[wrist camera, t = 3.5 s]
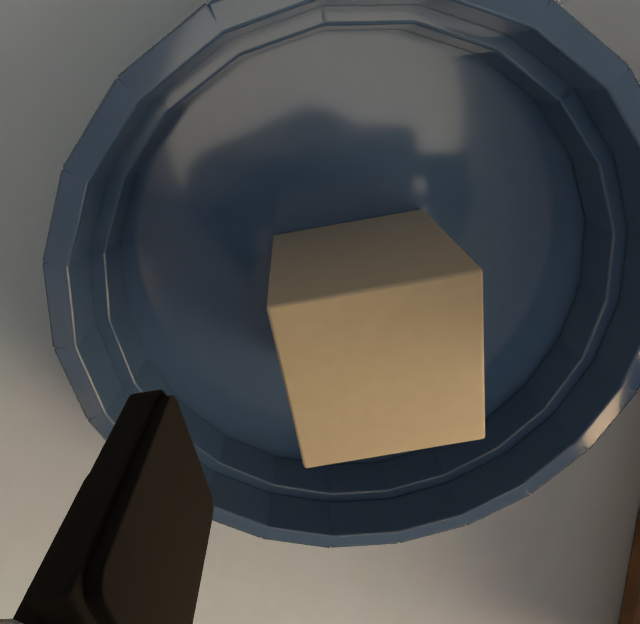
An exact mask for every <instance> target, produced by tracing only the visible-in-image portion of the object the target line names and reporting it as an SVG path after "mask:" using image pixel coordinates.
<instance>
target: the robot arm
mask: <svg viewBox="0 0 640 624" xmlns="http://www.w3.org/2000/svg"><path fill="white" fill-rule="evenodd" d="M213 507H214V506H213V498H212V494H211V491H210V488H209V485H208V483H207V480H206V477H205V475H204V472H203V469H202V466H201V464H200V461H199V458H198V455H197V453H196V450H195V447H194V445H193V442H192V439H191V436H190V434H189V431H188V428H187V425H186V423H185V420H184V417H183V414H182V412H181V409H180V406H179V404H178V401H177V399H176V397H175V396H173V395H170V396H167V394H166V393H165V392H164V390H161V389H159V390H153V391H147V392H140V393H134V394H131V395H130V396H129V398H128V399H127V401H126V403H125V405H124V407H123V409H122V411H121V413H120V415H119V417H118V419H117V421H116V423H115V425H114V427H113V428H112V430H111V432H110V434H109V436H108V438H107V440H106V442H105V444H104V446H103V448H102V450H101V452H100V454H99V456H98V458H97V460H96V462H95V464H94V466H93V468H92V470H91V471H90V473H89V474H88V476H87V477H86V479H85V480H84V482H83V484H82V486H81V488H80V490H79V492H78V493H77V495H76V497H75V499H74V501H73V503H72V505H71V507H70V509H69V511H68V513H67V515H66V517H65V519H64V521H63V523H62V524H61V526H60V528H59V530H58V532H57V534H56V536H55V538H54V540H53V542H52V544H51V546H50V548H49V550H48V552H47V554H46V556H45V557H44V559H43V561H42V563H41V565H40V567H39V569H38V571H37V573H36V575H35V577H34V579H33V581H32V583H31V585H30V587H29V588H28V590H27V592H26V594H25V596H24V598H23V600H22V602H21V604H20V606H19V608H18V610H17V612H16V614H15V616H14V618H13V619H0V624H193V618H194V613H195V608H196V602H197V597H198V592H199V587H200V581H201V576H202V571H203V565H204V560H205V555H206V549H207V544H208V539H209V534H210V528H211V523H212V518H213Z"/></svg>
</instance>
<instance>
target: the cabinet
mask: <svg viewBox="0 0 640 624" xmlns="http://www.w3.org/2000/svg"><path fill="white" fill-rule="evenodd" d="M619 624H640V510H639V516H638V521H637V527H636V532H635V538H634V543H633V549H632V555H631V560H630V566H629V571H628V577H627V582H626V588H625V593H624V599H623V604H622V610H621V615H620V621H619Z"/></svg>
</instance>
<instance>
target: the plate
mask: <svg viewBox="0 0 640 624" xmlns="http://www.w3.org/2000/svg"><path fill="white" fill-rule="evenodd" d="M420 209H421V210H424V211H425V212H426V213H427V214H428V215H429V216H430V217H431V218H432V219H433V220H434V222H435V223H436V224H437V225H438V226H439V227H440V228H441V229H442V230H443V231H444V232H445V233H446V234H447V235H448V236H449V237H450V238H451V239H452V240H453V241H454V242H455V243H456V244H457V245H458V246H459V247H460V248H461V249H462V250H463V251H464V252H465V253H466V254H467V255H468V256H469V257H470V258H471V259H472V260H473V261H474V262H475V263H476V264H477V265H478V266H479V267H480V268H481V269H482V271H483V324H484V390H485V438H483V439H479V440H473V441H467V442H461V443H455V444H449V445H443V446H437V447H431V448H425V449H419V450H413V451H407V452H401V453H395V454H389V455H383V456H377V457H371V458H365V459H359V460H353V461H347V462H341V463H335V464H329V465H323V466H317V467H311V468H305V467H304V465H303V461H302V457H301V453H300V448H299V444H298V440H297V436H296V432H295V427H294V423H293V419H292V415H291V410H290V406H289V402H288V398H287V393H286V389H285V385H284V381H283V377H282V372H281V368H280V364H279V360H278V355H277V351H276V347H275V343H274V338H273V334H272V330H271V326H270V321H269V317H268V313H267V298H268V287H269V277H270V266H271V255H272V245H273V236H275V235H278V234H284V233H289V232H295V231H301V230H306V229H312V228H318V227H323V226H329V225H335V224H340V223H346V222H352V221H358V220H363V219H369V218H375V217H380V216H386V215H392V214H397V213H403V212H409V211H414V210H420ZM43 272H44V280H45V287H46V295H47V303H48V311H49V318H50V326H51V334H52V342H53V347H55V348H54V350H55V352H56V355H57V357H58V359H59V361H60V363H61V365H62V367H63V369H64V371H65V374H66V376H67V378H68V380H69V382H70V384H71V386H72V388H73V391H74V393H75V395H76V397H77V399H78V401H79V403H80V405H81V407H82V410H83V412H84V414H85V416H86V418H87V419H88V420H89V422H90V423H91V424H92V425H93V427H94V428H95V429H96V430H97V431H98V432H99V433H100V434H101V436H102V437H103V438H104V439H105V440H107V438H108V436H109V434H110V432H111V430H112V428H113V427H114V425H115V423H116V421H117V419H118V417H119V415H120V413H121V411H122V409H123V407H124V405H125V403H126V401H127V399H128V398H129V396H130V395H131V394H134V393H140V392H147V391H153V390H159V389H161V390H164V392H165V393H166V394H167V396H170V395H173V396H175V397H176V399H177V401H178V404H179V406H180V409H181V412H182V414H183V417H184V420H185V423H186V425H187V428H188V431H189V434H190V436H191V439H192V442H193V445H194V447H195V450H196V453H197V455H198V458H199V461H200V464H201V466H202V469H203V472H204V475H205V477H206V480H207V483H208V485H209V488H210V491H211V494H212V498H213V506H214V507H213V518H212V520H213V521H216V522H218V523H221V524H224V525H227V526H229V527H232V528H235V529H238V530H240V531H243V532H246V533H248V534H251V535H254V536H257V537H259V538H261V537H262V538H263V539H268V540H275V541H282V542H290V543H297V544H304V545H312V546H319V547H326V548H330V546H331V547H332V548H335V547H350V546H366V545H382V544H397V543H398V542H399V543H402V542H406V541H410V540H414V539H417V538H421V537H425V536H429V535H433V534H436V533H440V532H444V531H448V530H452V529H455V528H459V527H463V526H465V525H469V524H471V523H473V522H475V521H478V520H480V519H482V518H484V517H486V516H488V515H490V514H492V513H494V512H496V511H498V510H500V509H502V508H504V507H506V506H508V505H510V504H512V503H514V502H516V501H519V500H521V499H523V498H525V497H527V496H529V495H530V493H533V492H534V491H535V490H537V489H538V488H539V487H541V486H542V485H543V484H545V483H546V482H547V481H548V480H550V479H551V478H552V477H554V476H555V475H556V474H558V473H559V472H560V471H561V470H563V469H564V468H565V467H567V466H568V465H569V464H571V463H572V462H573V461H574V460H576V459H577V458H578V457H580V456H581V455H582V454H583V453H585V452H586V451H587V449H590V448H591V446H592V445H593V444H594V443H595V442H596V440H597V439H598V438H599V437H600V436H601V434H602V433H603V432H604V431H605V430H606V428H607V427H608V426H609V425H610V424H611V423H612V421H613V420H614V419H615V418H616V417H617V415H618V414H619V413H620V412H621V411H622V409H623V408H624V407H625V406H626V405H627V403H628V402H629V401H630V400H631V399H632V397H633V396H634V395H635V394H636V391H637V390H638V389H639V387H640V85H639V83H638V81H637V80H636V78H635V76H634V74H633V72H632V70H631V69H630V68H629V66H628V64H627V63H626V62H624V61H623V60H622V59H621V58H620V57H619V56H618V55H616V54H615V53H614V52H613V51H612V50H611V49H610V48H608V47H607V46H606V45H605V44H604V43H603V42H601V41H600V40H599V39H598V38H597V37H596V36H595V35H593V34H592V33H591V32H590V31H589V30H588V29H587V28H585V27H584V26H583V25H582V24H581V23H580V22H578V21H577V20H576V19H575V18H574V17H573V16H572V15H570V14H569V13H568V12H567V11H566V10H565V9H564V8H562V7H561V6H560V5H559V4H558V3H557V2H555V1H554V0H211V1H210V2H209V3H208V4H203V5H202V6H201V7H200V8H199V9H197V10H196V11H195V12H194V13H193V14H191V15H190V16H189V17H188V18H187V19H185V20H184V21H183V22H182V23H181V24H179V25H178V26H177V27H176V28H175V29H173V30H172V31H171V32H170V33H168V34H167V35H166V36H165V37H164V38H162V39H161V40H160V41H159V42H158V43H156V44H155V45H154V46H153V47H152V48H150V49H149V50H148V51H147V52H146V53H144V54H143V55H142V56H141V57H140V58H138V59H137V60H136V61H135V62H134V63H132V64H131V65H130V66H129V67H127V68H126V69H125V70H124V71H123V72H121V73H120V74H119V75H118V78H117V79H115V80H114V82H113V84H112V85H111V87H110V89H109V90H108V92H107V94H106V95H105V97H104V99H103V100H102V102H101V104H100V105H99V107H98V109H97V110H96V112H95V114H94V115H93V117H92V119H91V120H90V122H89V124H88V125H87V127H86V129H85V130H84V132H83V134H82V135H81V137H80V139H79V140H78V142H77V144H76V145H75V147H74V149H73V150H72V152H71V154H70V155H69V157H68V159H67V160H66V162H65V164H64V165H63V169H62V171H61V174H60V179H59V184H58V189H57V194H56V198H55V203H54V208H53V213H52V218H51V223H50V228H49V232H48V237H47V242H46V247H45V252H44V257H43Z"/></svg>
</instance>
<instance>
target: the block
mask: <svg viewBox="0 0 640 624" xmlns="http://www.w3.org/2000/svg"><path fill="white" fill-rule="evenodd" d="M267 313H268V317H269V321H270V326H271V330H272V334H273V338H274V343H275V347H276V351H277V355H278V360H279V364H280V368H281V372H282V377H283V381H284V385H285V389H286V393H287V398H288V402H289V406H290V410H291V415H292V419H293V423H294V427H295V432H296V436H297V440H298V444H299V448H300V453H301V457H302V461H303V465H304V467H305V468H311V467H317V466H323V465H329V464H335V463H341V462H347V461H353V460H359V459H365V458H371V457H377V456H383V455H389V454H395V453H401V452H407V451H413V450H419V449H425V448H431V447H437V446H443V445H449V444H455V443H461V442H467V441H473V440H479V439H483V438H485V390H484V324H483V271H482V269H481V268H480V267H479V266H478V265H477V264H476V263H475V262H474V261H473V260H472V259H471V258H470V257H469V256H468V255H467V254H466V253H465V252H464V251H463V250H462V249H461V248H460V247H459V246H458V245H457V244H456V243H455V242H454V241H453V240H452V239H451V238H450V237H449V236H448V235H447V234H446V233H445V232H444V231H443V230H442V229H441V228H440V227H439V226H438V225H437V224H436V223H435V222H434V220H433V219H432V218H431V217H430V216H429V215H428V214H427V213H426V212H425V211H424V210H421V209H420V210H414V211H409V212H403V213H397V214H392V215H386V216H380V217H375V218H369V219H363V220H358V221H352V222H346V223H340V224H335V225H329V226H323V227H318V228H312V229H306V230H301V231H295V232H289V233H284V234H278V235H275V236H273V245H272V255H271V266H270V277H269V287H268V298H267Z"/></svg>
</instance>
